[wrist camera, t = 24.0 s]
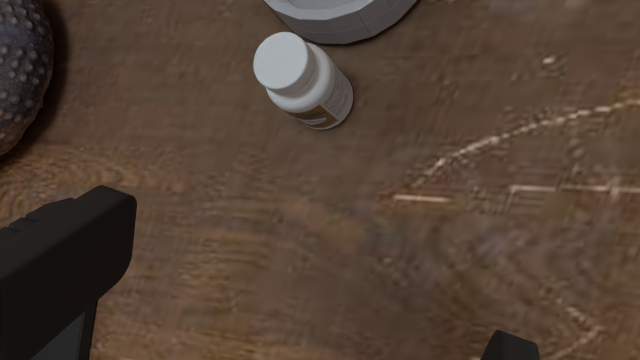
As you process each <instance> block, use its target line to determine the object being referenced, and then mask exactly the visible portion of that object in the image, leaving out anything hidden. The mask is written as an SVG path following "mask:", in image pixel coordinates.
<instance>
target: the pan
mask: <svg viewBox="0 0 640 360" xmlns="http://www.w3.org/2000/svg"><path fill="white" fill-rule="evenodd" d="M263 1H264V2H265V4H266V5H267V6H268V7H269V8H270V9H271V10H272V11H273V12H274V13H275V14H276V15H277V17H278V18H279V19H280V20H281V21H282V22H284V23H285V24H286V25H287V26H288V27H289V28H290V29H291V30H292V31H293V32H294V33H296V34H297V35H299V36H302V37H304V38H307V39H309V40H312V41H314V42H317V43H326V44H347V43H351V42H354V41H358V40H362V39H365V38H369V37H371V36H372V37H373V36H375V35H376V34H378V33H379V32H381V31H383V30H384V29H386V28H388V27H389V26H391V25H393V24H394V23H396V22H397V21H398V20H399V19H400V18H401V17H402V16H403V15H404V14H405V13H406V12H407V11H408V10H409V9H410V8H411V7H412V5H413V4H414V3H415V2H416V1H417V0H263Z"/></svg>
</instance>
